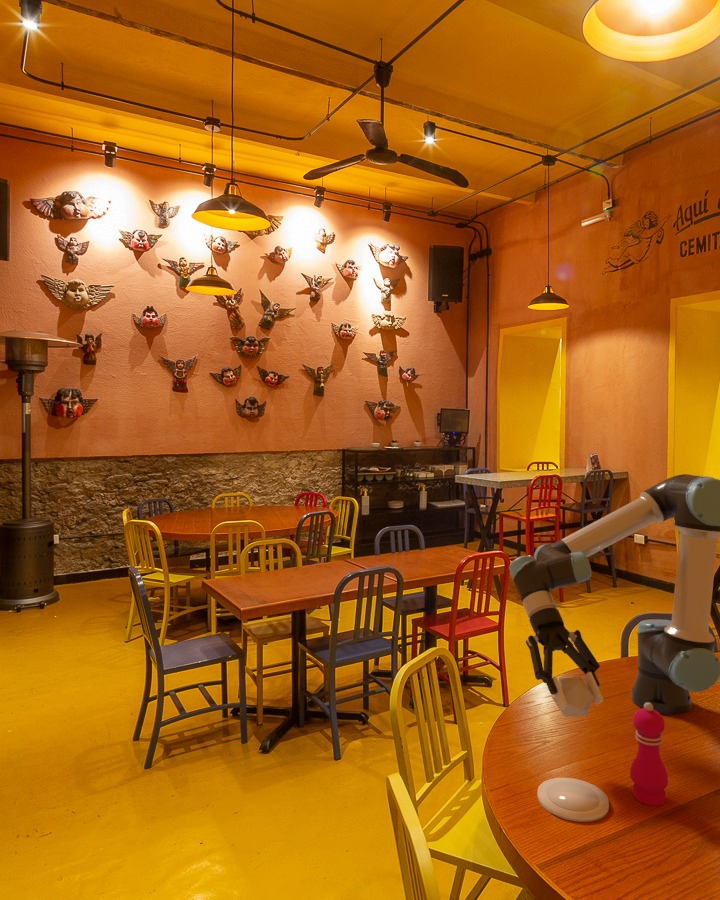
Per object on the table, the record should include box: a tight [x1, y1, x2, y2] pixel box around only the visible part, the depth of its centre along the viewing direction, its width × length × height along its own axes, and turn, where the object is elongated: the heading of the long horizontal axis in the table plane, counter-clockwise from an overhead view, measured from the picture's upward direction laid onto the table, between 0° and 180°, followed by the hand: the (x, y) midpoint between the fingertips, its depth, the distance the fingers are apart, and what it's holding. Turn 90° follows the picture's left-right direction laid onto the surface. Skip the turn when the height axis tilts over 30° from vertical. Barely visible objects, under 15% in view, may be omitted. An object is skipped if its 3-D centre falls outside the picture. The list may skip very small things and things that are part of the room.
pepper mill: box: [629, 702, 669, 807], centre depth 130 cm, size 7×7×20 cm
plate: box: [537, 777, 610, 823], centre depth 129 cm, size 14×14×1 cm
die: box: [551, 676, 594, 718], centre depth 144 cm, size 8×9×10 cm
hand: (582, 704), depth 139 cm, fingers closed on die, 8 cm apart
